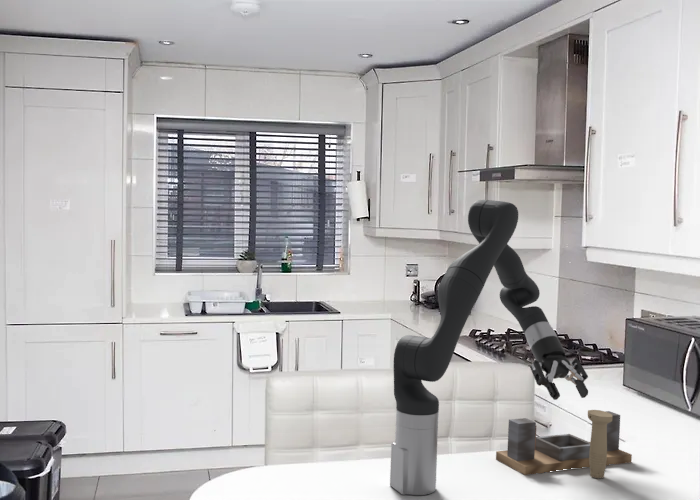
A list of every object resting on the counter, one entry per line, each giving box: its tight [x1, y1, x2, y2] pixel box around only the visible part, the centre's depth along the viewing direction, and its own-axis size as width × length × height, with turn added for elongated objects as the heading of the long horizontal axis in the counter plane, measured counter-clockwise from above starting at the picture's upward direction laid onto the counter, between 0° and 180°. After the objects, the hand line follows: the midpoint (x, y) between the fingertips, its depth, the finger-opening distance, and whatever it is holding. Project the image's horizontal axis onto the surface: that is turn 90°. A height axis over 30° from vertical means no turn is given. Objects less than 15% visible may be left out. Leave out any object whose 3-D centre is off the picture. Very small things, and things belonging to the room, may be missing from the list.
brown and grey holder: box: [495, 410, 633, 476], centre depth 184 cm, size 32×12×11 cm, turn 112°
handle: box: [587, 409, 613, 479], centre depth 173 cm, size 5×6×15 cm
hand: (571, 397), depth 182 cm, fingers open, 8 cm apart
